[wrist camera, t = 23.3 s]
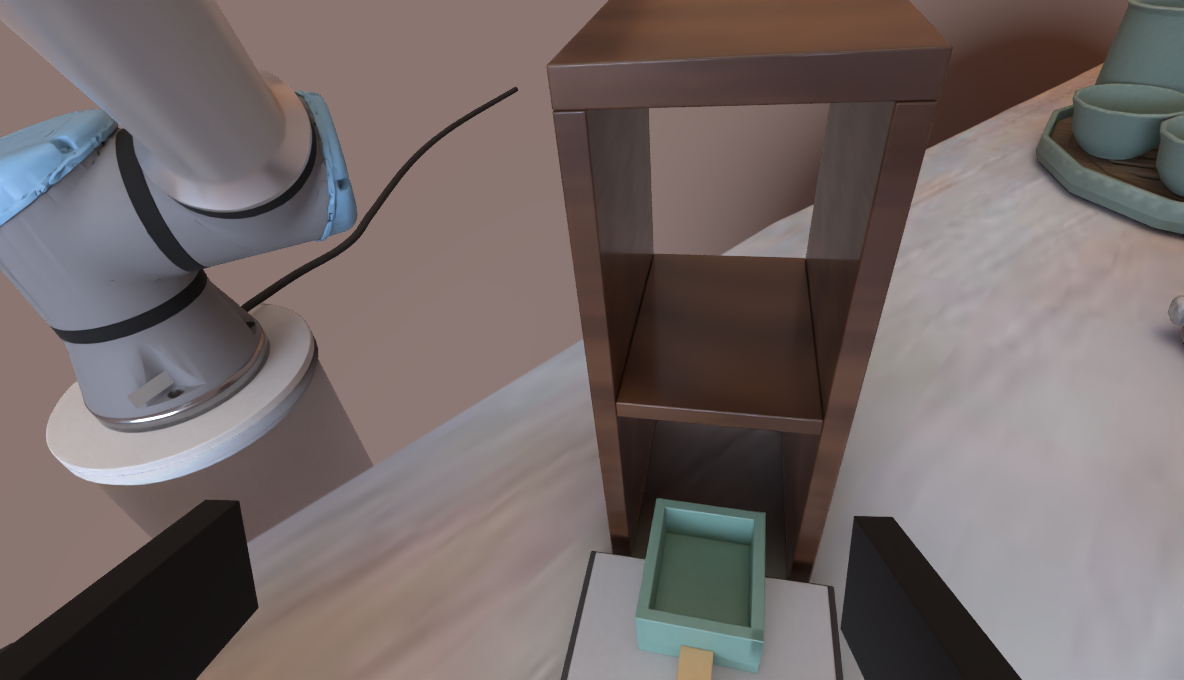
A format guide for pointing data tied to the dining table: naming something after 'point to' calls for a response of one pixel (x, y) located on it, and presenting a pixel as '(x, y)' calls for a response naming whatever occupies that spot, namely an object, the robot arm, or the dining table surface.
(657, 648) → the scoop
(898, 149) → the shelf
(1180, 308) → the dish
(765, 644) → the whiteboard
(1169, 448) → the dining table surface
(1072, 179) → the tea set
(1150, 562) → the dining table surface
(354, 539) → the dining table surface
